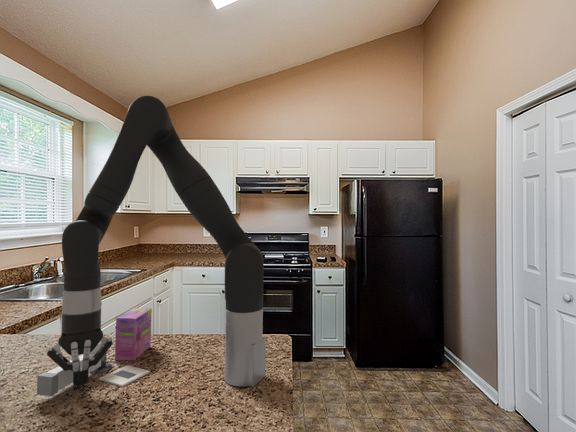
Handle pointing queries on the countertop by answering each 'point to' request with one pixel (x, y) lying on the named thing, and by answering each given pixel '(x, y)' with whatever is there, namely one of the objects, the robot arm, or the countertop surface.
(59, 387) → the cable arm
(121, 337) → the box
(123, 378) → the label tile
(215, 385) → the countertop surface
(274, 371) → the countertop surface
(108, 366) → the grey pedestal stand
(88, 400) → the countertop surface
